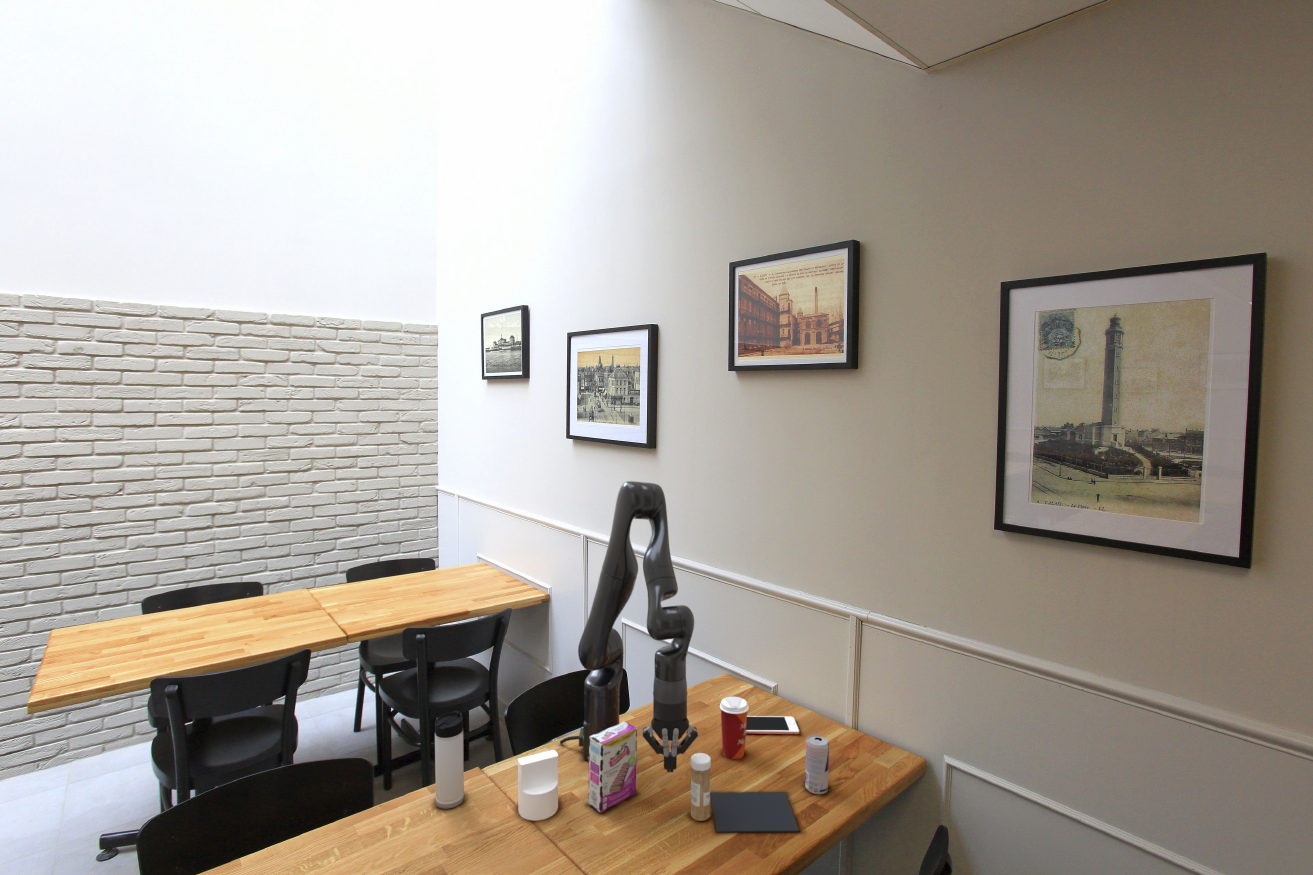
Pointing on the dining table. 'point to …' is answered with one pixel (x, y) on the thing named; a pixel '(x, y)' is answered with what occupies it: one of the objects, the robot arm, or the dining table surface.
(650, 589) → the robot arm
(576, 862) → the dining table surface
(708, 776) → the sprinkles bottle
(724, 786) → the dining table surface
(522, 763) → the base with upright slab
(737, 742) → the paper cup
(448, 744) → the travel mug
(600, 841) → the dining table surface
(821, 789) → the energy drink
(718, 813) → the rubber mat
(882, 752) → the dining table surface
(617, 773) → the candy bar box
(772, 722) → the cell phone
